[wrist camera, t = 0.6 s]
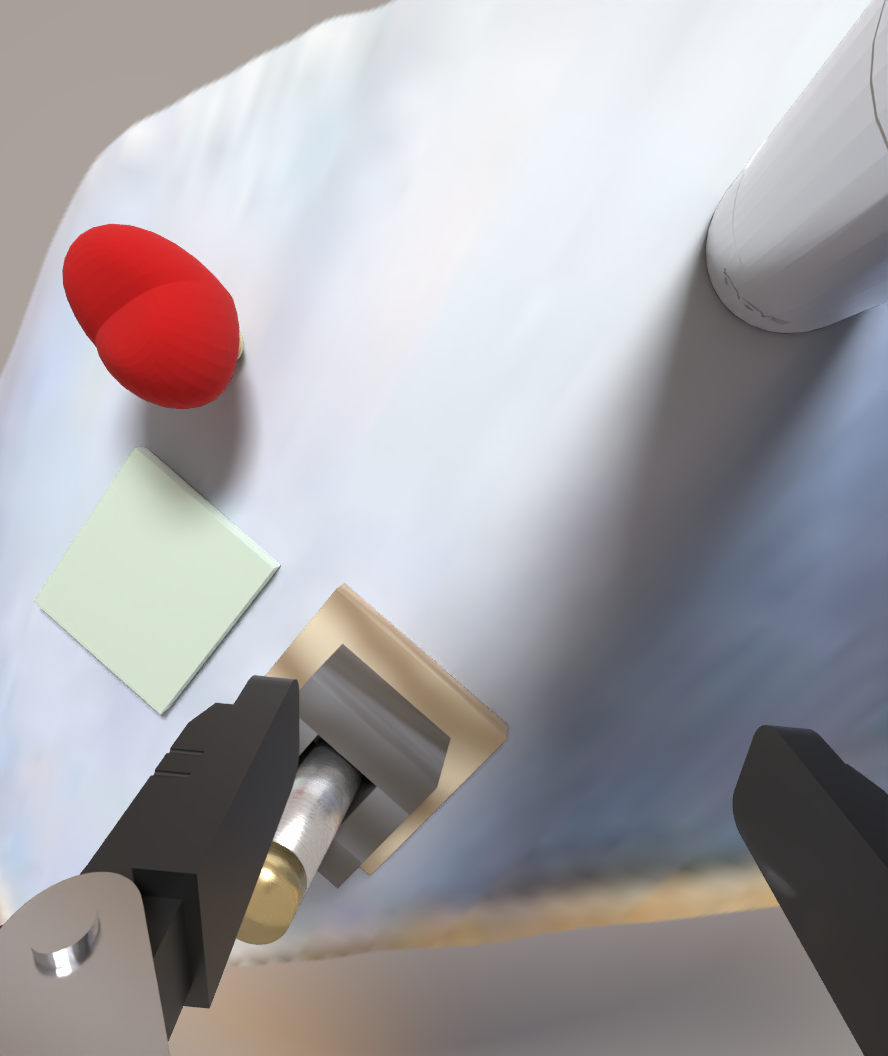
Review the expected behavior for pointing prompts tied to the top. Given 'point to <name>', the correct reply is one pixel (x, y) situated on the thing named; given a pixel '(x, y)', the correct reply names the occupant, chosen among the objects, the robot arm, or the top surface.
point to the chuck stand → (383, 726)
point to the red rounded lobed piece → (153, 315)
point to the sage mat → (154, 580)
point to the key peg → (300, 842)
